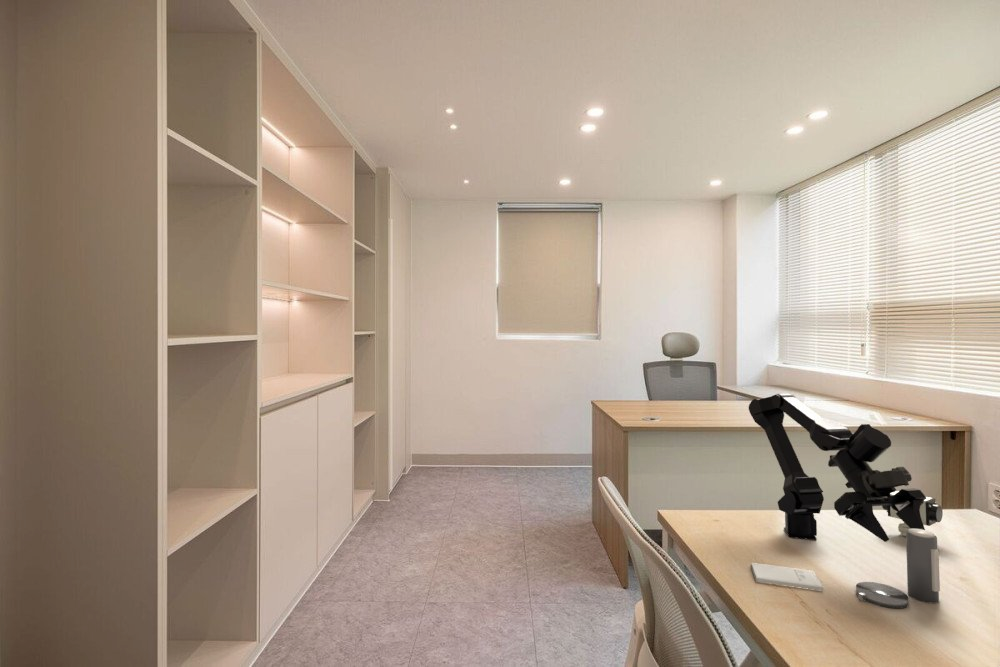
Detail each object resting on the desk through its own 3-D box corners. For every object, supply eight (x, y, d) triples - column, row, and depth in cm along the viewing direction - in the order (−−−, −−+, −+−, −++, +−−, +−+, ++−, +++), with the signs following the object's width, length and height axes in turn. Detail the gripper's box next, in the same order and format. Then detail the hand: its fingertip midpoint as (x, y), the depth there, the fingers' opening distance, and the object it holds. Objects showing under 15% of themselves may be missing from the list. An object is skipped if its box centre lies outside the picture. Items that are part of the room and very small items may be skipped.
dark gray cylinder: (901, 592, 102) (899, 528, 102) (921, 590, 103) (919, 527, 103) (927, 605, 97) (925, 538, 97) (948, 603, 97) (946, 536, 98)
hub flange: (879, 585, 105) (879, 580, 105) (920, 606, 96) (919, 599, 96) (842, 590, 103) (841, 584, 103) (880, 611, 95) (880, 604, 95)
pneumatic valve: (936, 546, 125) (935, 498, 125) (882, 532, 135) (880, 487, 135) (945, 541, 128) (943, 495, 128) (890, 527, 138) (889, 484, 138)
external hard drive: (750, 568, 114) (812, 576, 110) (756, 584, 106) (823, 594, 102) (750, 561, 114) (812, 569, 110) (756, 577, 107) (823, 585, 102)
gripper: (843, 455, 108) (892, 524, 96) (916, 452, 111) (972, 518, 99) (815, 482, 115) (858, 549, 104) (885, 478, 118) (934, 543, 107)
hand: (906, 539), depth 103 cm, fingers open, 9 cm apart
